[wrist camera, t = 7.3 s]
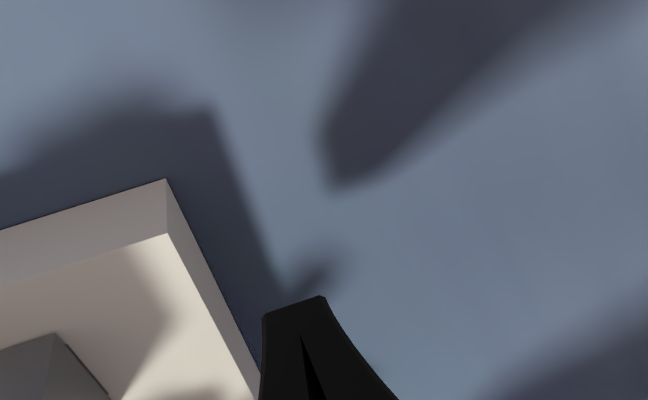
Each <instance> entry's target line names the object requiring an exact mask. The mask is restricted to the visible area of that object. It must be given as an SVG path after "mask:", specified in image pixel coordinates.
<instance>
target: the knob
mask: <svg viewBox="0 0 648 400" xmlns="http://www.w3.org/2000/svg"><path fill="white" fill-rule="evenodd" d="M0 400H111V399H110V398H109V397H108V396H107V394H106V393H105V392H104V391H103V390H102V388H101V387H100V386H99V385H98V384H97V382H96V381H95V380H94V379H93V378H92V377H91V375H90V374H89V373H88V372H87V371H86V369H85V368H84V367H83V366H82V365H81V363H80V362H79V361H78V360H77V359H76V357H75V356H74V355H73V354H72V353H71V352H70V350H69V349H68V348H67V347H66V346H65V344H64V343H63V342H62V341H61V340H60V338H59V337H58V336H57V335H56V334H55V333H54V334H51V335H48V336H45V337H42V338H39V339H36V340H33V341H30V342H27V343H24V344H21V345H18V346H15V347H12V348H9V349H6V350H3V351H0Z"/></svg>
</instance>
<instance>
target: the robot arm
mask: <svg viewBox="0 0 648 400" xmlns="http://www.w3.org/2000/svg"><path fill="white" fill-rule="evenodd" d="M258 400H399V399H398V398H397V397H396V396H395V395H394V394H393V393H392V391H391V390H390V389H389V388H388V387H387V386H386V385H385V383H384V382H383V381H382V380H381V379H380V378H379V376H378V375H377V374H376V373H375V371H374V370H373V369H372V368H371V366H370V365H369V364H368V363H367V361H366V360H365V359H364V358H363V356H362V355H361V354H360V353H359V351H358V350H357V349H356V347H355V346H354V345H353V343H352V342H351V340H350V339H349V337H348V336H347V335H346V333H345V332H344V330H343V329H342V327H341V326H340V324H339V322H338V321H337V319H336V317H335V316H334V314H333V312H332V310H331V308H330V307H329V305H328V302H327V300H326V298H325V297H323V296H320V295H318V296H316V297H313V298H310V299H307V300H304V301H301V302H298V303H295V304H292V305H289V306H286V307H283V308H280V309H277V310H274V311H272V312H269V313H266V314H265V315H264V316H263V317H262V363H261V377H260V386H259V395H258Z"/></svg>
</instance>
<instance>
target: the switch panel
mask: <svg viewBox="0 0 648 400" xmlns="http://www.w3.org/2000/svg"><path fill="white" fill-rule="evenodd" d="M54 333H55V334H56V335H57V336H58V337H59V338H60V340H61V341H62V342H63V343H64V344H65V346H66V347H67V348H68V349H69V350H70V352H71V353H72V354H73V355H74V356H75V357H76V359H77V360H78V361H79V362H80V363H81V365H82V366H83V367H84V368H85V369H86V371H87V372H88V373H89V374H90V375H91V377H92V378H93V379H94V380H95V381H96V382H97V384H98V385H99V386H100V387H101V388H102V390H103V391H104V392H105V393H106V394H107V396H108V397H109V398H110V399H111V400H258V395H259V386H260V377H261V374H260V372H259V370H258V368H257V366H256V364H255V362H254V360H253V358H252V356H251V354H250V352H249V349H248V347H247V345H246V343H245V341H244V339H243V337H242V335H241V333H240V331H239V329H238V327H237V325H236V323H235V321H234V319H233V316H232V314H231V312H230V310H229V308H228V306H227V304H226V302H225V300H224V298H223V296H222V294H221V292H220V290H219V288H218V285H217V283H216V281H215V279H214V277H213V275H212V273H211V271H210V269H209V267H208V265H207V263H206V261H205V259H204V257H203V255H202V252H201V250H200V248H199V246H198V244H197V242H196V240H195V238H194V236H193V234H192V232H191V230H190V228H189V226H188V224H187V222H186V219H185V217H184V215H183V213H182V211H181V209H180V207H179V205H178V203H177V201H176V199H175V197H174V195H173V193H172V191H171V189H170V186H169V184H168V182H167V180H166V178H165V179H162V180H159V181H155V182H152V183H149V184H146V185H143V186H139V187H136V188H133V189H130V190H127V191H124V192H120V193H117V194H114V195H111V196H108V197H105V198H101V199H98V200H95V201H92V202H89V203H86V204H82V205H79V206H76V207H73V208H70V209H67V210H63V211H60V212H57V213H54V214H51V215H48V216H44V217H41V218H38V219H35V220H32V221H29V222H25V223H22V224H19V225H16V226H13V227H9V228H6V229H3V230H0V351H3V350H6V349H9V348H12V347H15V346H18V345H21V344H24V343H27V342H30V341H33V340H36V339H39V338H42V337H45V336H48V335H51V334H54Z"/></svg>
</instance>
